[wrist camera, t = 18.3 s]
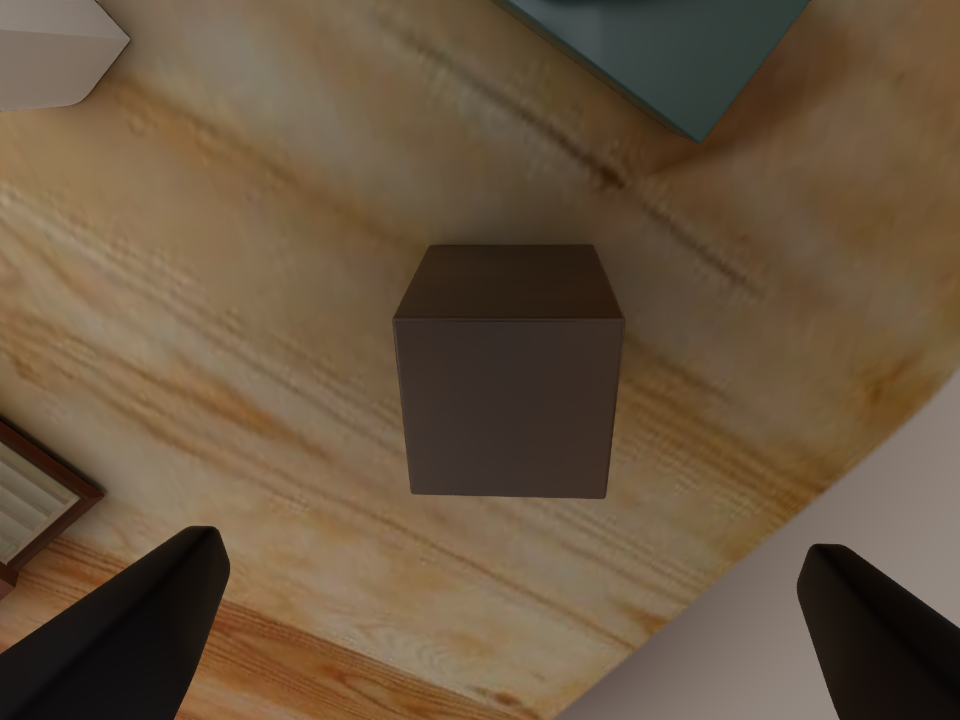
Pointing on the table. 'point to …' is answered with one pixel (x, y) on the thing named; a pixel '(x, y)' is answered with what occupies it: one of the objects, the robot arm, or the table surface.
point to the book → (34, 503)
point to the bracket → (54, 51)
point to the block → (509, 371)
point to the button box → (665, 49)
